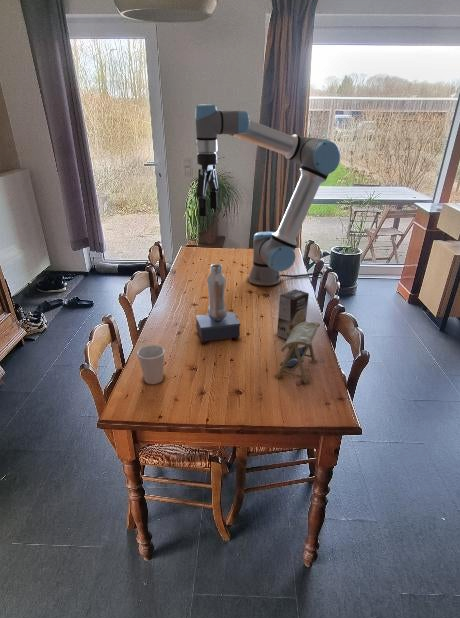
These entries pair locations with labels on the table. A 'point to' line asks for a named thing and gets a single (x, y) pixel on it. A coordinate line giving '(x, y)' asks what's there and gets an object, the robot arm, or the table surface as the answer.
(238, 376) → the table surface
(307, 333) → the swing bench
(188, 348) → the table surface
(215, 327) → the grey rectangular box
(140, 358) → the dixie cup
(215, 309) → the plastic bottle
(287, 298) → the coffee box
